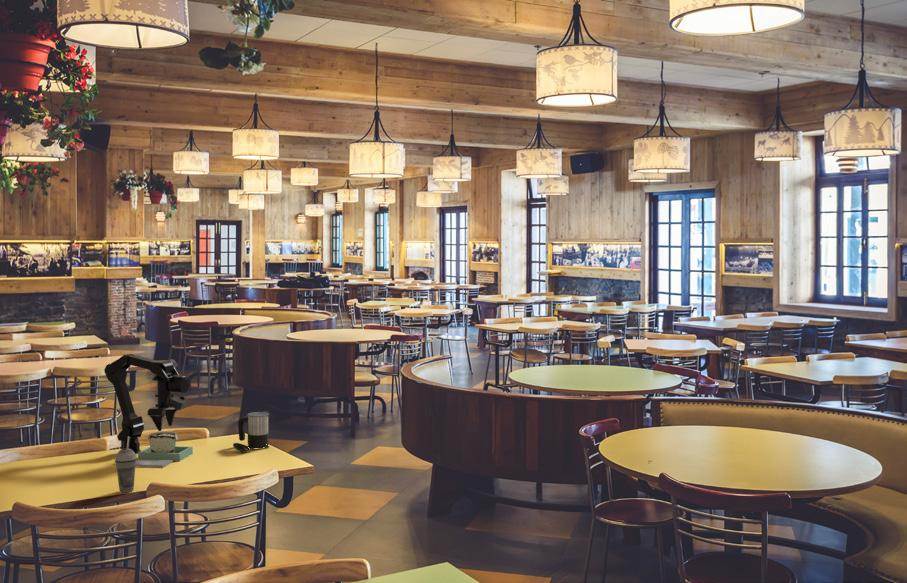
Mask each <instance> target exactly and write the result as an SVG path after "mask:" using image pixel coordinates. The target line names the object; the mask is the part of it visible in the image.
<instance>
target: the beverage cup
mask: <svg viewBox="0 0 907 583" xmlns="http://www.w3.org/2000/svg"><path fill="white" fill-rule="evenodd" d="M128 446H129V436H128V441H127V448H124V449H121V448H120V449H119V451H118V452H117V453H116V455H115V460H114V464H115V466H116V474H117V482H118V489H119V493H120V492H121V493H120V494H123V493H125V494H129V493H128V492H131V493H133V492H134V489H135V488H134V487H135V475H136V467H135V465H136V461H137V460H138V457H137V455H136V454H137V453H136V454H135V453H134V451H133V450H131V449H129V448H128ZM132 491H133V492H132Z"/></svg>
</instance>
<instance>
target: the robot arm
mask: <svg viewBox="0 0 907 583" xmlns="http://www.w3.org/2000/svg"><path fill="white" fill-rule="evenodd" d="M131 366H133V367H137V368H142V369H145V370H148V371H150V372H151V373H152V374H153V375H155V376H154V377H153V378H152V381H154V382H155V381H156V392H157V393H156V394H154V396H155V398H157V399H156V400H157V403H156V404H155V406H153V407H149V409H147V416H149V418H150V419H151V420H152V421H153V423H154V425H155V427H156V429H157V430H158V432H162V429H163V420H164V418H165V419H166V421H167V424H168V426H169V427H172V425H173V423H174V422H173V421H174V420H175V415H176V413H177V412H178V411H180V410H182V409H184V408H185V406H186V405H187V403H188V402H187V397H186V396H184V395H182V396H180V397H178V396H177V397H176V395H175V393H180V394H184V393H185V394H186V393H187V392H188V391H189V388H190V383H189V380H188V379H187V378H186V376H185V375H180V374H179V372H178V370H176V368H175V365H174V364H173V362H172V361H171V360H163V359H160V360H157V359H156V360H154V359H150V358H148V357H144V356H139V355H135V354H133V353H128V354H127V353H126V354H123V355H121V357H120V358H118V359H116V360H114V361H113V362H111V363H109V364H106V365H105V367H104V371H103V372H104V374H105V376H106V379H107V380H108V382H110V384H112V385H113V389H114V391H115V395H116V398H117V401H118V402H117V403H118V404H119V405H118V406H119V407H120V411H121V414H122V421H121V431H120V432H119V433H118V434H117V436H116V437H117V440H118V441H119V442H120V450H121V449H124V448H127V441H128V436H129V446H128V448H129V449H131V450H133V451H134V453H135V454H138V452H140V451H142V450H141V448H140V441H139V438H141V437H142V435H143V432H144V430H145V423H144V419H143V416H142V415H137V413H136V412H135V408H134V405H133V401H132V398H131V395H130V392H129V390H128V386H127V382H126V381H127V376H128V373H127V372H128V371H127V370H128V369H130V368H131Z"/></svg>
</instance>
